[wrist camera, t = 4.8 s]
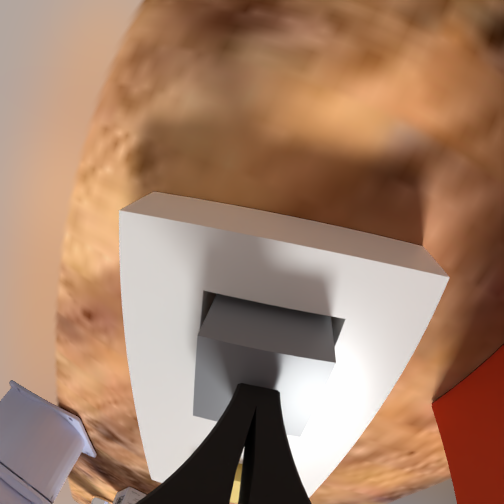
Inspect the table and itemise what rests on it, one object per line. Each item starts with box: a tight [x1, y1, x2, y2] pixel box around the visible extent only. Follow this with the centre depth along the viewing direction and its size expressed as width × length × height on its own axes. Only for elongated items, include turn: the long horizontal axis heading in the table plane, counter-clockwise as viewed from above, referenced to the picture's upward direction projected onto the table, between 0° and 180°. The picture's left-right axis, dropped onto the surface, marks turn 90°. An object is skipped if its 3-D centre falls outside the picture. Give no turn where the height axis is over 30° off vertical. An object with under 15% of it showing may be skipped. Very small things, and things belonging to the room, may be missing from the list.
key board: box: [119, 192, 449, 498], centre depth 16 cm, size 12×22×3 cm, turn 171°
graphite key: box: [193, 294, 336, 437], centre depth 12 cm, size 4×4×3 cm
